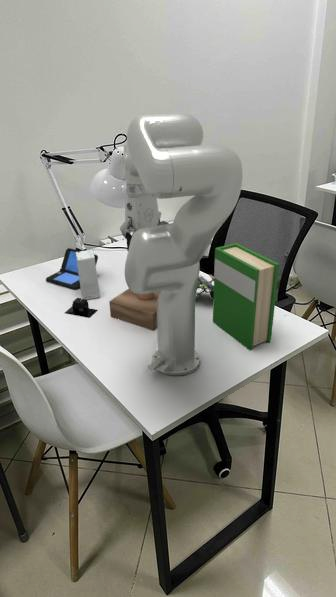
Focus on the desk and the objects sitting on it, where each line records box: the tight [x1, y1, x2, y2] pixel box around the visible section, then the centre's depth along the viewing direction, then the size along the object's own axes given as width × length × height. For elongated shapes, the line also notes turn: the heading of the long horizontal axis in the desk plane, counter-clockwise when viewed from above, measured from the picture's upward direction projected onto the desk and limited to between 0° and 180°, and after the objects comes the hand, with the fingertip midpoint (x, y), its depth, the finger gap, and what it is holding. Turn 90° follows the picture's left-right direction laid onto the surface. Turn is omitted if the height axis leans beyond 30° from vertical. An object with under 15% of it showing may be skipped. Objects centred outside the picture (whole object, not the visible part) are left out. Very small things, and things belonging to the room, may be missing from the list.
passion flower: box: [195, 273, 214, 301], centre depth 141 cm, size 11×11×12 cm
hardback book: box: [212, 242, 280, 352], centre depth 120 cm, size 18×7×24 cm, turn 29°
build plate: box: [64, 297, 99, 319], centre depth 137 cm, size 12×7×5 cm, turn 69°
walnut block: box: [108, 288, 161, 331], centre depth 136 cm, size 16×16×6 cm
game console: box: [45, 247, 99, 291], centre depth 158 cm, size 16×14×9 cm
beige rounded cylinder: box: [137, 292, 154, 300], centre depth 133 cm, size 5×5×6 cm
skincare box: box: [76, 249, 101, 300], centre depth 146 cm, size 8×6×15 cm
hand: (143, 247), depth 127 cm, fingers open, 9 cm apart
